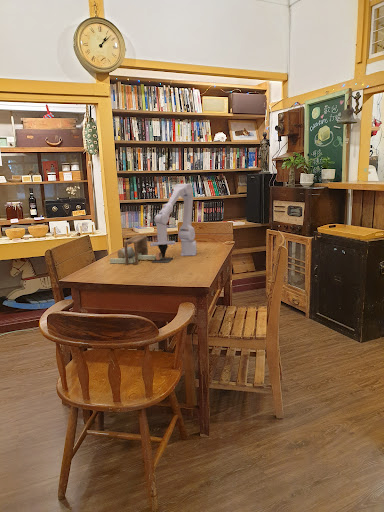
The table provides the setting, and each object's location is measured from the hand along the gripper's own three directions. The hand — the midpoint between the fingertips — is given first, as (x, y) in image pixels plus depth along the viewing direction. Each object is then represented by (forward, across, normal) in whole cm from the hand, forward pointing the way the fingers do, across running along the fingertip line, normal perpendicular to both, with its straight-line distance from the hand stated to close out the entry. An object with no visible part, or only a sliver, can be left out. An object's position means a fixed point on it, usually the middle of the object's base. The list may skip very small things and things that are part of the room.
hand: (163, 257), depth 217 cm
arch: (+2, +14, -7) cm, 16 cm away
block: (+2, +14, -7) cm, 16 cm away
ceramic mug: (+2, +20, -11) cm, 23 cm away
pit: (+2, +1, 0) cm, 2 cm away
